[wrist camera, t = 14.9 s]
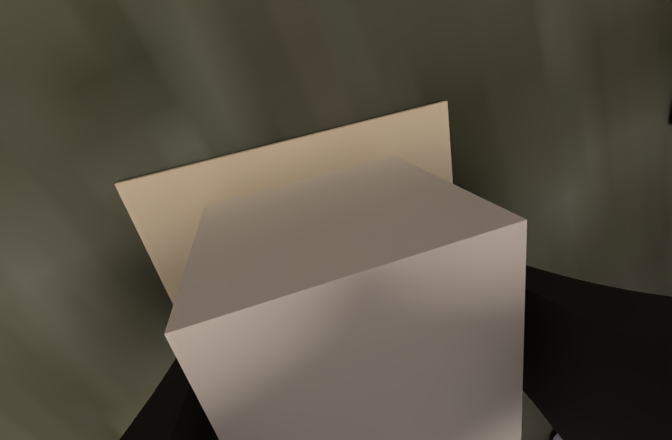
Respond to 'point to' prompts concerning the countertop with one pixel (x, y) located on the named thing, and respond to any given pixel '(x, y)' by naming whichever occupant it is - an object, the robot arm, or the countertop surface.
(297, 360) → the white rectangular prism
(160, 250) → the mark
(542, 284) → the robot arm
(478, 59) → the countertop surface
